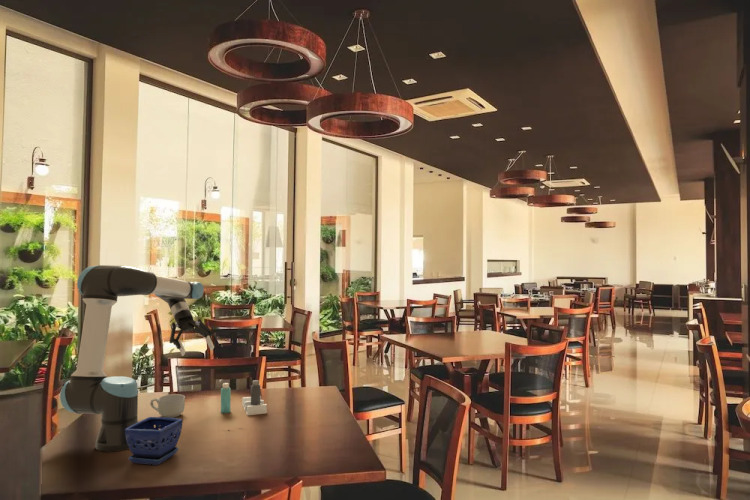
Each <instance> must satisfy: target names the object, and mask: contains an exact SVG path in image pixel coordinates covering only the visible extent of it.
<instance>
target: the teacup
mask: <svg viewBox="0 0 750 500" xmlns="http://www.w3.org/2000/svg"><path fill="white" fill-rule="evenodd" d="M154 402H157V405H158V407H157V406H156V405H154ZM185 403H186V396H185V395H184V394H179V393H177V394H176V393H174V394H173V393H171V394H165V395H162V396H160V397H158V398H155V397H154V398H152V400H151V399H150V402H149V404H150V407H151V408H152V409H153V410H156V411H157V412H158V414H159V415H160V417H164V418H177V417H180V416H181V415H182V414H183V413H184V411H185V407H186V406H185V405H186V404H185Z"/></svg>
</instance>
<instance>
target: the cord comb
mask: <svg viewBox="0 0 750 500" xmlns="http://www.w3.org/2000/svg"><path fill="white" fill-rule="evenodd" d="M264 401H265V400H264V399H262V396H261V395H260V405H251V396H246V397H245V396H243V397H242V401H241V402H242V404H241V405H242V407H243V409H244V412H245V413H246V415H247V416H254V415H255V416H256V415H262V414H263V415H264V414H267V413H268V412H267V411H268V410H267V409H268V406H267V405H268V404H267V403H265V402H264Z"/></svg>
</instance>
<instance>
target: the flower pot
mask: <svg viewBox="0 0 750 500" xmlns="http://www.w3.org/2000/svg"><path fill="white" fill-rule="evenodd" d="M183 423H184V422H183V419H182V418H177V417H174V418H164V417H163V416H148V417H147V418H144V419H142V420H140V421H138V423H136V424H134V425H132V426H130V427H128V428H126V429H125V436H126V441H127V444H128V446H129V449H128V450H130V452H131V454H132V455H130V456H128V458H127V459H128V461H130V462H131V463H134V464H142V465H151V464H152V466H158V465H160V464H162V463H164V462H166V461H167V460H168V459H170V458H172V457H173V456H174V455H175V454H177V452H178V451H179V448H180V447H176V446H177V444H178V442H179V439H180V437H181V434H182V429H183ZM137 440H138V441H137Z"/></svg>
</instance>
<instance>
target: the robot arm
mask: <svg viewBox="0 0 750 500" xmlns="http://www.w3.org/2000/svg"><path fill="white" fill-rule="evenodd" d="M76 287H77V289H78V292H79V294H80V295H82V301H83V303H84V304H85V310H84V311H85V312H84V318H83V324H82V331H81V338H80V339H81V340H80V345H79V351H78V357H77V358H78V359H77V364H76V369H75V371H73V373H71V375H70V379H69V380H67V381H65V383H64V385H63V386H61V390H60V393H59V398H60V403H61V406H62V407H63V409H64V410H65V411H67V412H69V413H74V414H76V415H77V414H78V415H81V414H82V415H83V414H90V415H101V417H100V419H101V420H100V421H101V422H100V423H101V425H100V427H99V431H98V434H97V436H96V440H95V449H96V451H99V452H100V451H101V452H106V453H108V452H109V453H111V452H119V451H120V452H121V451H126V450H130V449H129V446H128V444H127V441H126V436H125V429H126V428H128V427H130V426H132V425H134V424H136V423H138V422H139V420H138V415H139V414H138V411H139V409H138V406H139V405H138V400H139V399H138V397H139V396H138V394H139V388H138V382H137V380H136V379H135V378H132V377H129V376H124V375H123V376H122V375H120V376H117V375H115V376H108V375H107V373H105V371H104V365H105V358H106V351H107V344H108V338H109V336H108V335H109V330H110V329H109V328H110V322H111V314H112V307H113V306H114V305H115V304H116V303H117V302H118V297H128V296H129V297H130V296H149V295H151V294H152V295H155V297H158V299H160V300H162V301H164V302H165V303H167V305H168V308H169V309H170V311H171V313H172V316H173V318H174V321H175V322H172V323H171V325H170V328H171V331H170V337H169V343H170V344H173V345H174V346H175V347H176V349H177V350H179V352H180V354H181V356H182V357H184V356H185V354H186V350H185V347H184V345H183V342H182V341H181V339H180V337H181V336H182V334H183V332H186V333H187V332H192V331H193V332H196V333H198V334H199V335H201V336H202V337H204V338H205V341H206V343H207V346H208V348H209V350H210V351H213V350H214V348H215V345H214V340H213V338H212V337H213V336H214V331H213V330H212V329H211V328H209V327H208V326H207V325H206V324H205V323H204V322H203V321H202V319H201V318H198V320H195V319H194V316H193V314H192V312H191V310H190V307H189V306H188V303H187V301H186V299H187V300H195V299H197V300H198V299H201V298H202V297H203V295H204V285H203V283H201V282H199V281H187V280H181V279H177V278H174V277H167V276H163V275H157V274H155V273H154V272H153V271H150V270H146V269H142V268H138V267H134V266H130V265H109V264H108V265H103V264H101V265H100V264H99V265H91V266H87V267H86V268H85V269H84V270H82V271H81V272H80V274H79V276H78V278H77V283H76ZM177 328H178V329H180V330H179V332H178V333H177V335H176V330H177ZM175 335H176V338H175ZM179 339H180V340H179ZM137 441H138V440H137Z"/></svg>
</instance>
